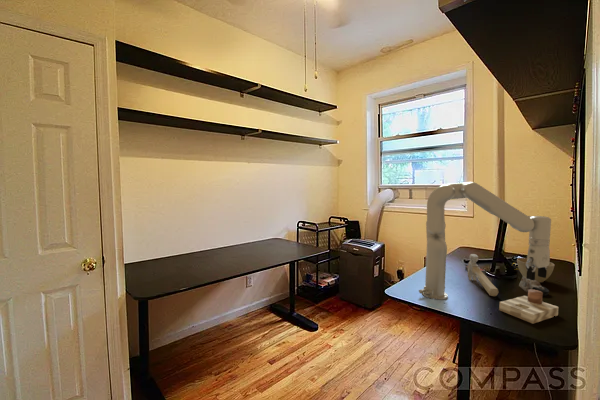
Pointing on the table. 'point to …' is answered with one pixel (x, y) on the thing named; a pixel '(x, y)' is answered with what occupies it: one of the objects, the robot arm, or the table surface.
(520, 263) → the white bowl
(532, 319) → the board
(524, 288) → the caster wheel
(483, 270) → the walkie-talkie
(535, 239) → the robot arm
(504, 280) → the table surface
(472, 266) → the hammer
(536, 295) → the peg
